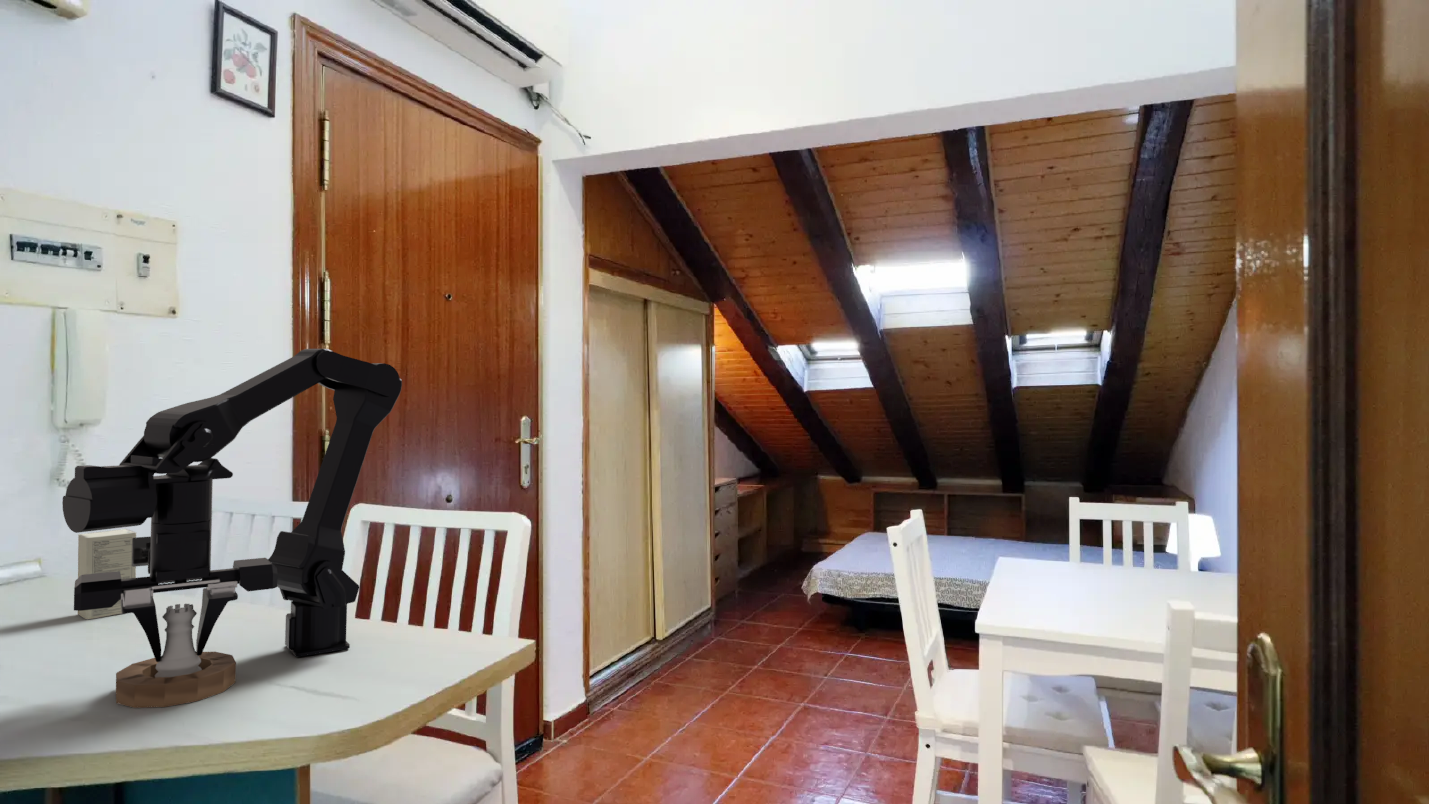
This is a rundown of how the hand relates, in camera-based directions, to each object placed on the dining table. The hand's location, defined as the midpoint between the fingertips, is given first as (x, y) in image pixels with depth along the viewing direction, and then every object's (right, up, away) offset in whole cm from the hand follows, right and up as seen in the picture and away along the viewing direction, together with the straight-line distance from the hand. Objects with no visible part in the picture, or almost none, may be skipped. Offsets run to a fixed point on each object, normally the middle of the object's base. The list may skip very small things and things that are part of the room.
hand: (178, 657), depth 89 cm
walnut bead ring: (0, -4, 0) cm, 4 cm away
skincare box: (-30, -3, +28) cm, 42 cm away
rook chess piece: (0, -2, 0) cm, 2 cm away
